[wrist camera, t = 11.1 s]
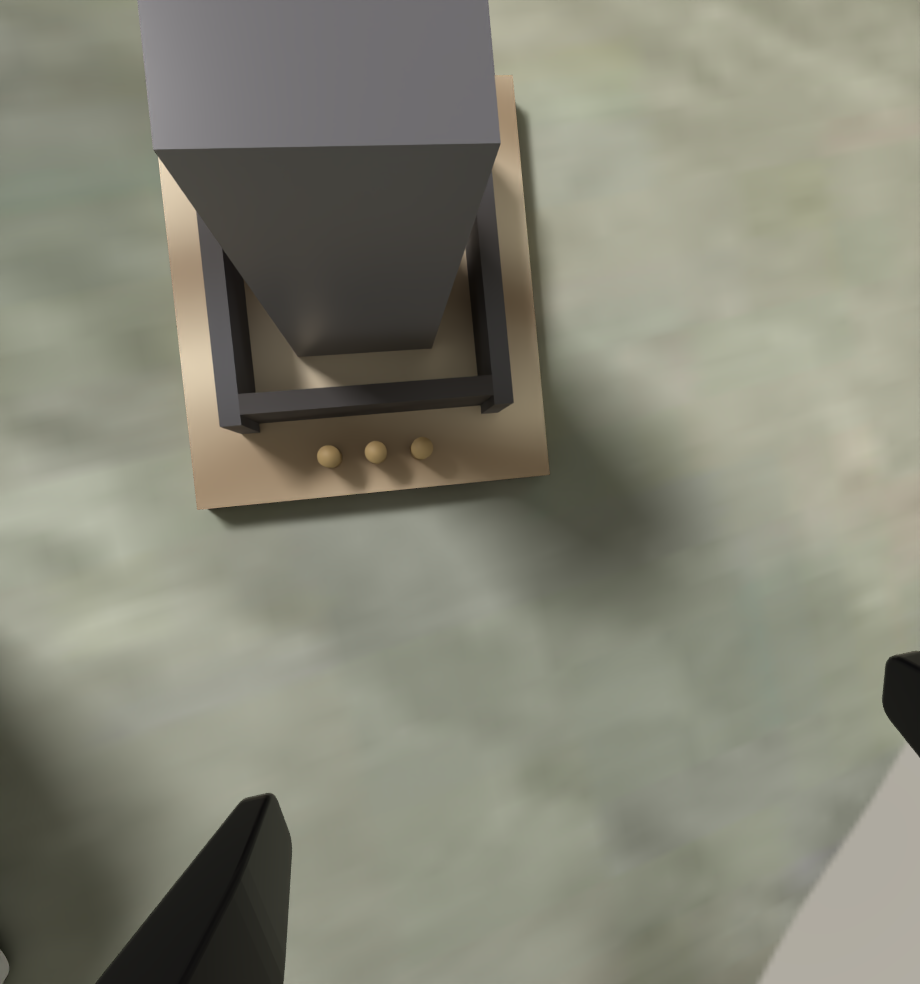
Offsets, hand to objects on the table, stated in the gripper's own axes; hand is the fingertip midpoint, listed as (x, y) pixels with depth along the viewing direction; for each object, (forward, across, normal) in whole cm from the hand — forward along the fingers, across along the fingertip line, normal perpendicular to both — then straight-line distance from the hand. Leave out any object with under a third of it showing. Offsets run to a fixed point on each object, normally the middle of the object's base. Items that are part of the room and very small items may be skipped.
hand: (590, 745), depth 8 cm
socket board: (+16, +3, -7) cm, 17 cm away
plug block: (+14, +3, -7) cm, 16 cm away
